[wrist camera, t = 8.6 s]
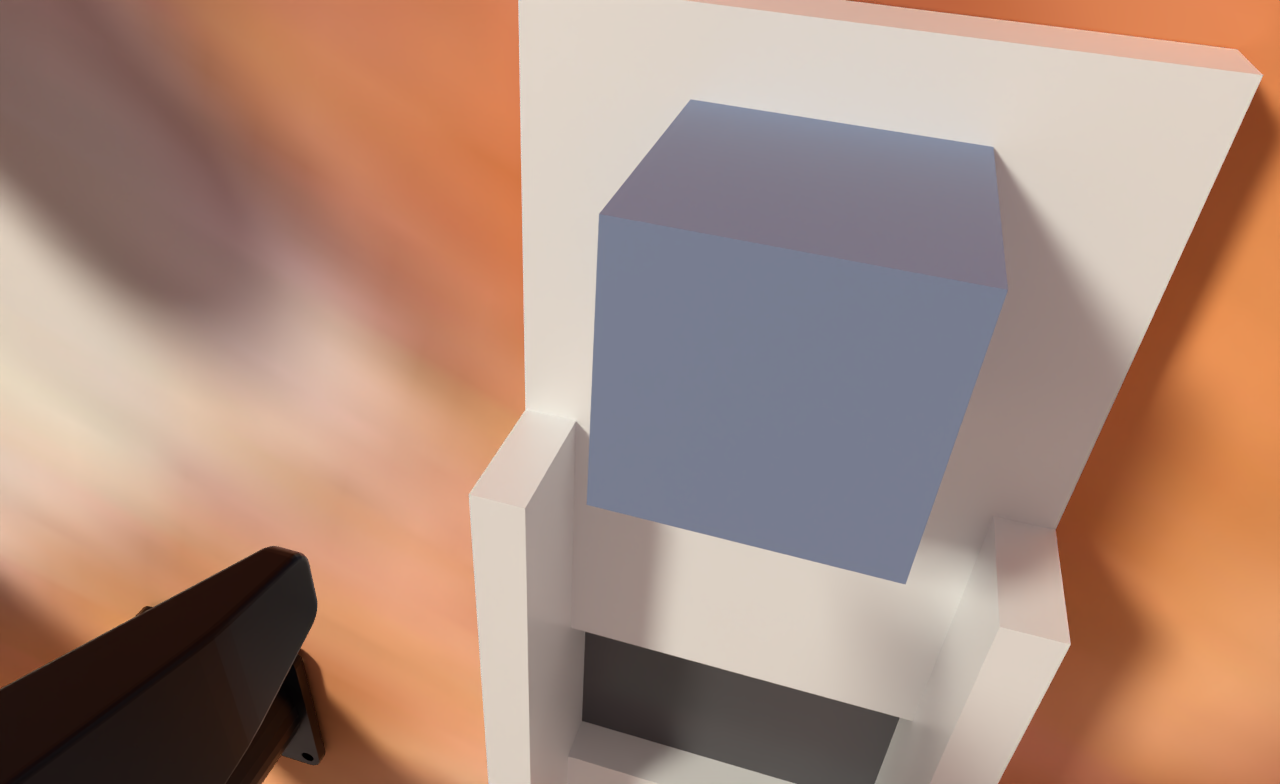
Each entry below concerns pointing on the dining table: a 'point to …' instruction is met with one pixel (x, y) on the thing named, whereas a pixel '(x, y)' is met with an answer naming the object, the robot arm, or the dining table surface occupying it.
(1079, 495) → the dining table surface
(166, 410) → the dining table surface
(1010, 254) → the trap channel
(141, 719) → the robot arm
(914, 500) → the blue-gray block
